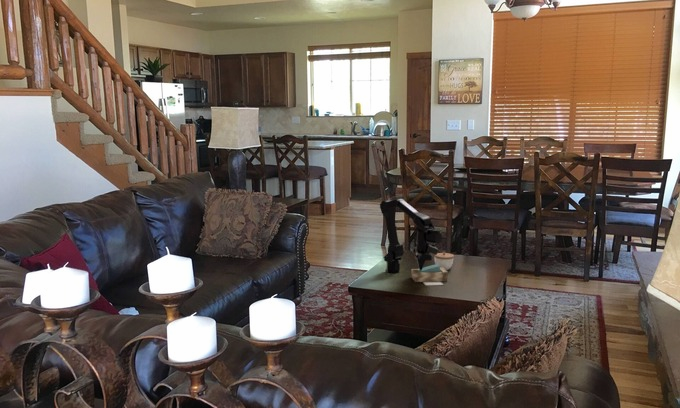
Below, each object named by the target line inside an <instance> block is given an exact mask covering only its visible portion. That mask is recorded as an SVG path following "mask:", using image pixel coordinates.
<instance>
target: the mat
mask: <svg viewBox="0 0 680 408" xmlns="http://www.w3.org/2000/svg"><path fill="white" fill-rule="evenodd" d="M422 283H423V285H424V286H427V287H428V286H432V287H433V286H443V285H444V283H443V282H442V281H431V282H422Z"/></svg>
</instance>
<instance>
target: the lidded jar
mask: <svg viewBox="0 0 680 408" xmlns="http://www.w3.org/2000/svg"><path fill="white" fill-rule="evenodd" d="M433 255H434V256H433V257H434V265H435V264H438V265H439V267H440V268H442V267H443V268H444V269H445V270H446V271H448V270H450V268H451V267H452V266H453V265H454V258H455V255H454V254H452V253H450V252H449V253H447V252H446V251H442V252H438V253H437V255H435V254H433Z"/></svg>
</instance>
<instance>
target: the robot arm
mask: <svg viewBox="0 0 680 408" xmlns="http://www.w3.org/2000/svg"><path fill="white" fill-rule="evenodd" d="M379 208H380V211H381V215H383V217H384V218H385V224H386V225H385V226H386V231H387V237H388V242H389V243H388V247H387V253H386V254H385V255H384V257H383V260H384V262H386V266H385V267H386V268H385V271H386V273H387V274H396V273H397V274H400V269H401V263H400V261H401V260H402V258H403V256H404V252H405V250H404V245H403V244H401V243H399V237H398V232H397V226H396V219H395V215H396V211H397V209H400V210H401V211H402V212H403V213H404V214H405V215H407V216H408V217H410V219H411V220H412V221H413V222H412V223H413V224H414V225H415V226H416V227H415V228H414V229H413V231H415V232H416V240H415V244H416V246H413V247H412V249H411V253H413V254H414V253H415V254H414V258H415V260H416V263H417V266H418V269H420V270H422V268H424V265H425V262H426V261H432V260H433V256H432V255H437V253H439V249H438V247H436V246H435V244H436V245H440V244H441V242H442V240H443V236H442V233H441V230H440V229H435V227H434V224H433V223H432V221H431V217H430V216H428V215H427V214H424V213H421V212H419V211H417V210H416V209H415V208H414V207H413V206H411V205H410V204H409V203H407V202H406V201H405V199H403V198H402V197H401V198H396V199H386V200H383V201H381V202H380V203H379ZM396 208H397V209H396ZM430 253H431V254H432V255H431V254H430Z"/></svg>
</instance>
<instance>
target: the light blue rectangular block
mask: <svg viewBox="0 0 680 408" xmlns="http://www.w3.org/2000/svg"><path fill="white" fill-rule="evenodd" d="M418 269H419V268H418ZM419 272H420V273H421V272H441V271H440V267H439V265H438V264H435V263H434V264H432V265H428V266H423V268H422V270H420V269H419Z"/></svg>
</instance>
